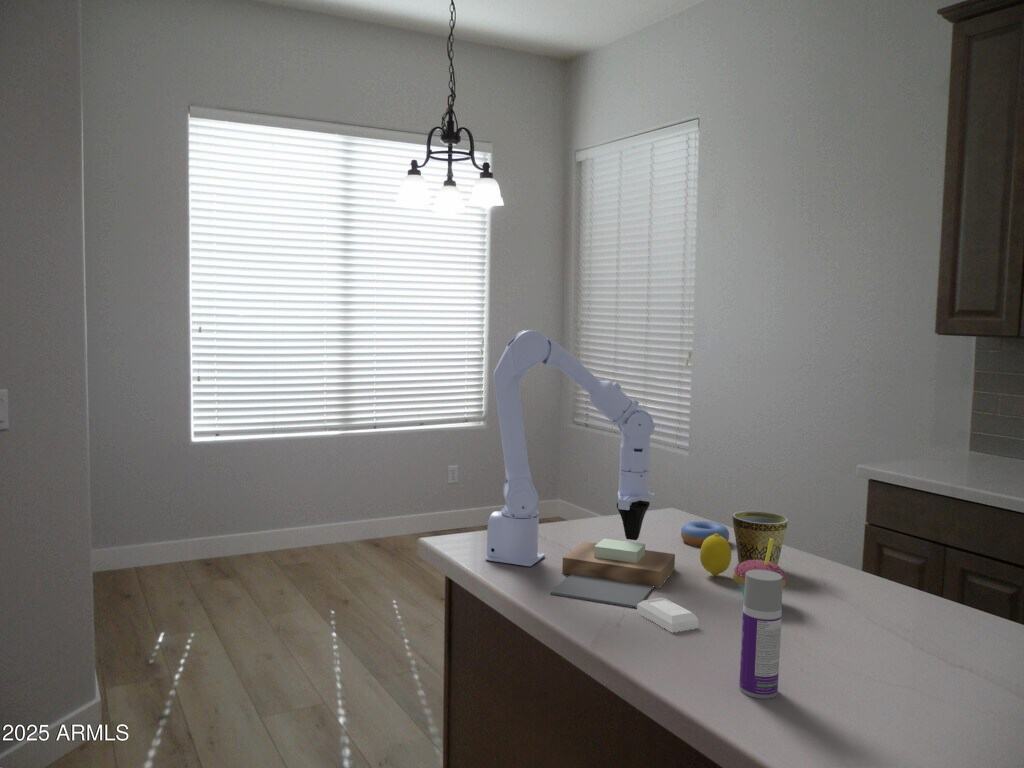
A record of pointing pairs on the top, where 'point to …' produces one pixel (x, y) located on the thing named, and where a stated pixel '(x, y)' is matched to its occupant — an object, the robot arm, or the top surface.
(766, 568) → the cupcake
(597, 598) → the mat
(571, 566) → the board
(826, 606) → the top surface
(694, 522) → the doughnut
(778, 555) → the ceramic cup
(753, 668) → the container
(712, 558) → the lemon
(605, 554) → the tile
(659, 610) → the soap bar
